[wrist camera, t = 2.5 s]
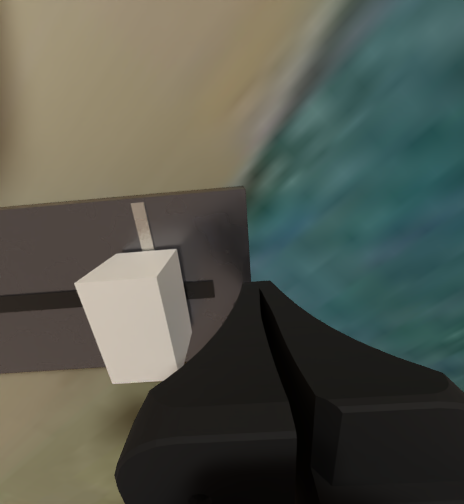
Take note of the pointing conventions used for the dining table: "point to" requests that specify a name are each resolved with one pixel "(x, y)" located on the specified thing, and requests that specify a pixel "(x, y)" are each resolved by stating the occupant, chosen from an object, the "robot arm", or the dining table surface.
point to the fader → (138, 314)
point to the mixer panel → (101, 249)
